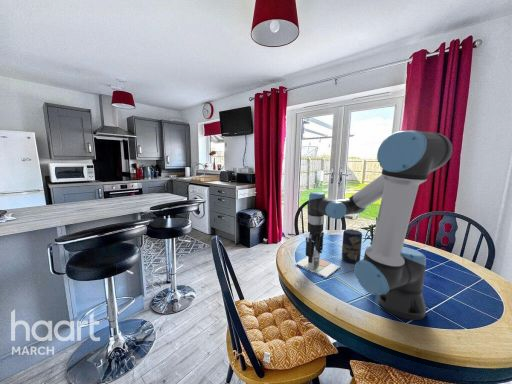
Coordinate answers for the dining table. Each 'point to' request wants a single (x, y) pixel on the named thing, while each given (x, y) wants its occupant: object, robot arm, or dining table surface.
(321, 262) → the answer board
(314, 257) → the pill bottle
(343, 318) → the dining table surface
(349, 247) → the canister
